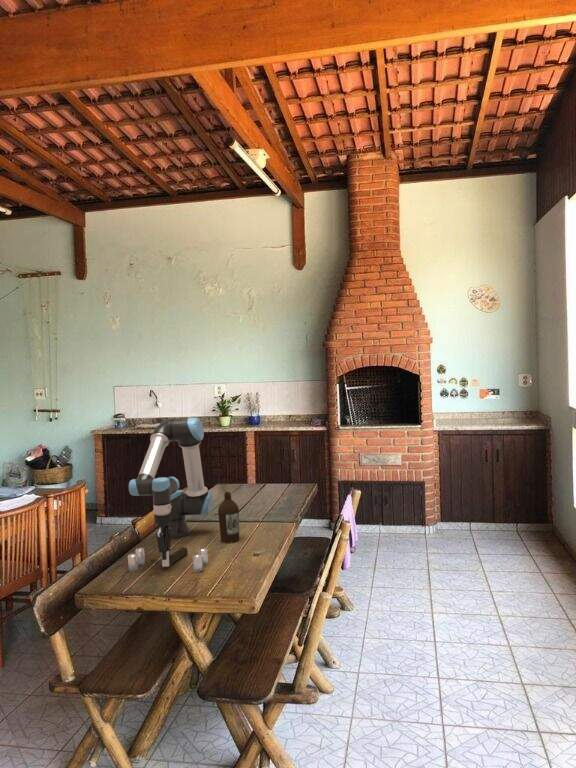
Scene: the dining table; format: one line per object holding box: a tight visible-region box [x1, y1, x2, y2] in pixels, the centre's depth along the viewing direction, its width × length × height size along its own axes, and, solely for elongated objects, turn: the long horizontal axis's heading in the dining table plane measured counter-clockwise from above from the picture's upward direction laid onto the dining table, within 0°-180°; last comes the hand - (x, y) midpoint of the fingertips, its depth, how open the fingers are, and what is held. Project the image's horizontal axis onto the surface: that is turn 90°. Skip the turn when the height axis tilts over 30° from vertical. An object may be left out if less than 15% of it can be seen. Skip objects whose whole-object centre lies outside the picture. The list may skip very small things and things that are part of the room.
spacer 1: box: [127, 553, 139, 573], centre depth 255 cm, size 4×4×7 cm
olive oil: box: [217, 490, 240, 544], centre depth 292 cm, size 11×11×25 cm
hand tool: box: [163, 546, 189, 569], centre depth 264 cm, size 19×4×5 cm, turn 160°
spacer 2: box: [134, 547, 146, 567], centre depth 263 cm, size 4×4×7 cm
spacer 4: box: [197, 547, 209, 566], centre depth 258 cm, size 4×4×7 cm
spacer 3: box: [192, 553, 203, 573], centre depth 250 cm, size 4×4×7 cm
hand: (165, 566), depth 254 cm, fingers closed
